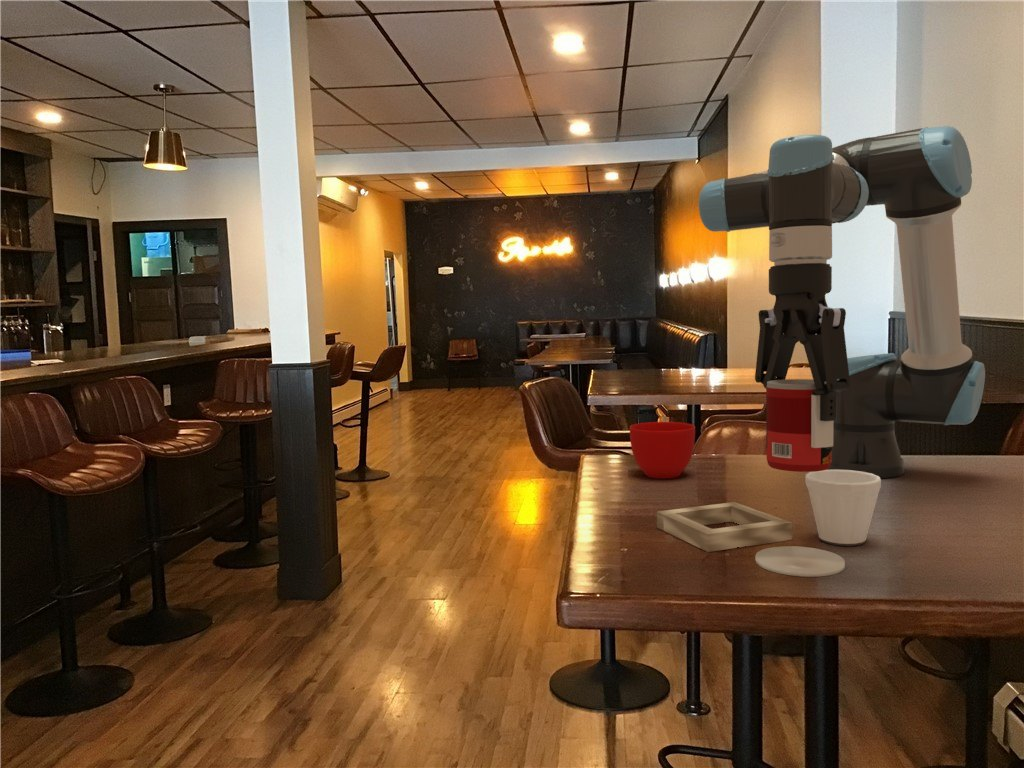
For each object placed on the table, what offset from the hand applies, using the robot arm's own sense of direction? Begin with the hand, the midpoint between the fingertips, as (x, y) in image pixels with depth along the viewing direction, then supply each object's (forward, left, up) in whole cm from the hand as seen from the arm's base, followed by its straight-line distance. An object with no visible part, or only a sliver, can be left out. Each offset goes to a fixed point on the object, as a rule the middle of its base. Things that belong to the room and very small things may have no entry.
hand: (799, 441), depth 104 cm
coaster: (0, 0, -16) cm, 16 cm away
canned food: (0, 0, -3) cm, 3 cm away
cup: (-12, -6, -16) cm, 21 cm away
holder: (+1, -16, -16) cm, 23 cm away
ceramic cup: (-14, -58, -16) cm, 62 cm away
